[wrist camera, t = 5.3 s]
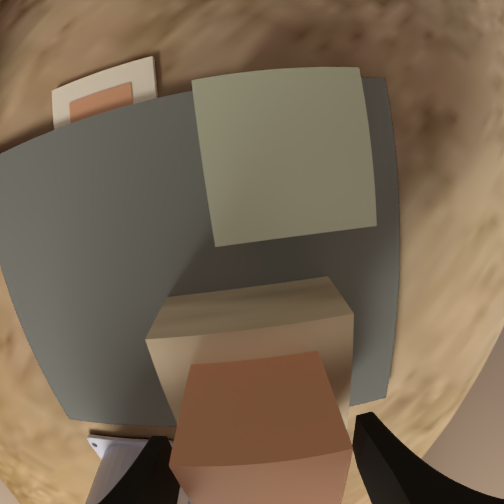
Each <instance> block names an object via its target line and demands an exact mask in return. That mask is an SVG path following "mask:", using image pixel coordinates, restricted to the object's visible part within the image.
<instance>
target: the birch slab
mask: <svg viewBox="0 0 504 504" xmlns="http://www.w3.org/2000/svg"><path fill="white" fill-rule="evenodd" d="M353 330H354V313H353V312H352V310H351V309H350V307H349V306H348V304H347V303H346V301H345V300H344V298H343V297H342V296H341V294H340V293H339V291H338V290H337V288H336V287H335V286H334V284H333V283H332V281H331V280H330V278H329V277H328V276H325V277H318V278H311V279H305V280H298V281H291V282H284V283H276V284H269V285H262V286H254V287H246V288H239V289H231V290H223V291H215V292H206V293H198V294H189V295H180V296H171V297H167V298H166V300H165V302H164V303H163V305H162V307H161V309H160V311H159V313H158V315H157V317H156V319H155V321H154V323H153V325H152V327H151V329H150V331H149V332H148V334H147V336H146V338H145V341H146V344H147V347H148V350H149V352H150V355H151V358H152V361H153V364H154V367H155V369H156V372H157V375H158V377H159V380H160V383H161V385H162V388H163V391H164V393H165V396H166V398H167V401H168V403H169V405H170V408H171V410H172V413H173V415H174V417H175V420H176V422H177V423H178V419H179V414H180V409H181V405H182V400H183V396H184V392H185V387H186V383H187V378H188V374H189V370H190V365H192V364H207V363H220V362H232V361H242V360H252V359H261V358H269V357H277V356H285V355H292V354H299V353H306V352H312V351H318V352H319V355H320V358H321V361H322V363H323V366H324V369H325V371H326V374H327V377H328V380H329V382H330V385H331V388H332V391H333V393H334V396H335V399H336V402H337V404H338V407H339V410H340V413H341V416H342V419H343V421H344V424H345V427H346V430H347V423H348V413H349V402H350V390H351V375H352V357H353Z"/></svg>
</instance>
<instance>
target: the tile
mask: <svg viewBox="0 0 504 504" xmlns="http://www.w3.org/2000/svg"><path fill="white" fill-rule="evenodd" d="M155 98H158V91H157V81H156V70H155V59H154V57H153V56H150V57H147V58H143V59H139V60H136V61H132V62H129V63H125V64H122V65H119V66H116V67H113V68H109V69H106V70H104V71H101V72H98V73H95V74H92V75H89V76H87V77H84V78H81V79H79V80H76V81H74V82H71V83H69V84H66V85H64V86H62V87H59V88H57V89H55V90H52V107H53V123H54V130H55V129H58V128H60V127H63V126H66V125H68V124H71V123H74V122H77V121H80V120H82V119H85V118H88V117H91V116H94V115H97V114H101V113H104V112H107V111H110V110H114V109H117V108H121V107H124V106H128V105H131V104H135V103H139V102H143V101H147V100H151V99H155Z"/></svg>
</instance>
